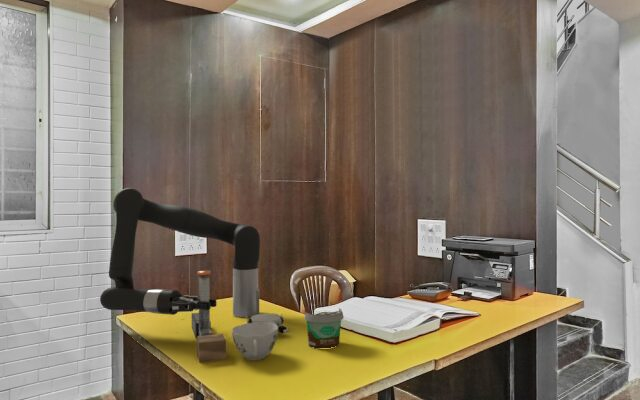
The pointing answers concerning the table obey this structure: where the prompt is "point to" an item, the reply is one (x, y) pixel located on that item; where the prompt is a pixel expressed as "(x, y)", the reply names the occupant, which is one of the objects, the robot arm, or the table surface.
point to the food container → (324, 329)
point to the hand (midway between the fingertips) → (212, 304)
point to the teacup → (255, 339)
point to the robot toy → (269, 320)
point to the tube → (204, 296)
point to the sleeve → (196, 321)
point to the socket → (211, 348)
